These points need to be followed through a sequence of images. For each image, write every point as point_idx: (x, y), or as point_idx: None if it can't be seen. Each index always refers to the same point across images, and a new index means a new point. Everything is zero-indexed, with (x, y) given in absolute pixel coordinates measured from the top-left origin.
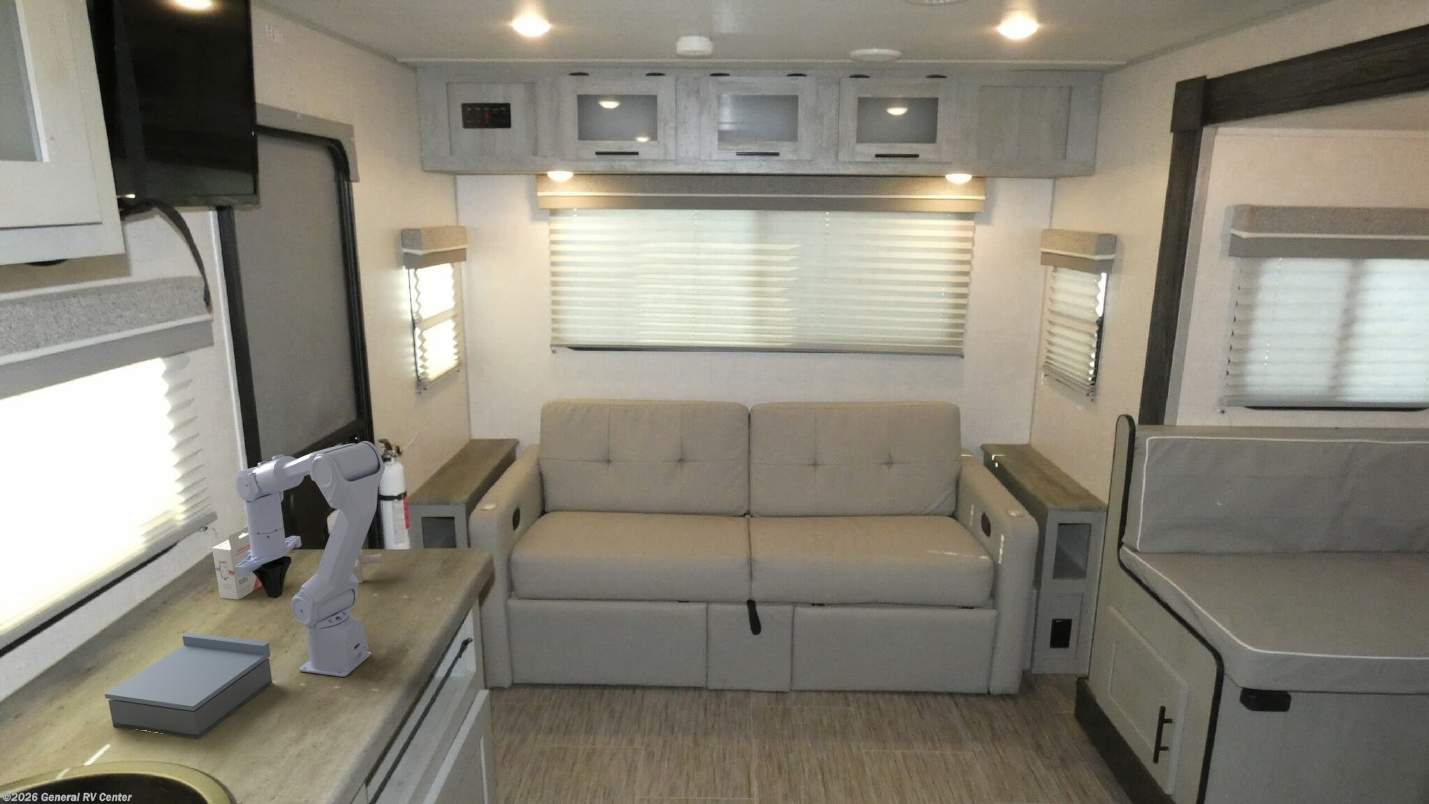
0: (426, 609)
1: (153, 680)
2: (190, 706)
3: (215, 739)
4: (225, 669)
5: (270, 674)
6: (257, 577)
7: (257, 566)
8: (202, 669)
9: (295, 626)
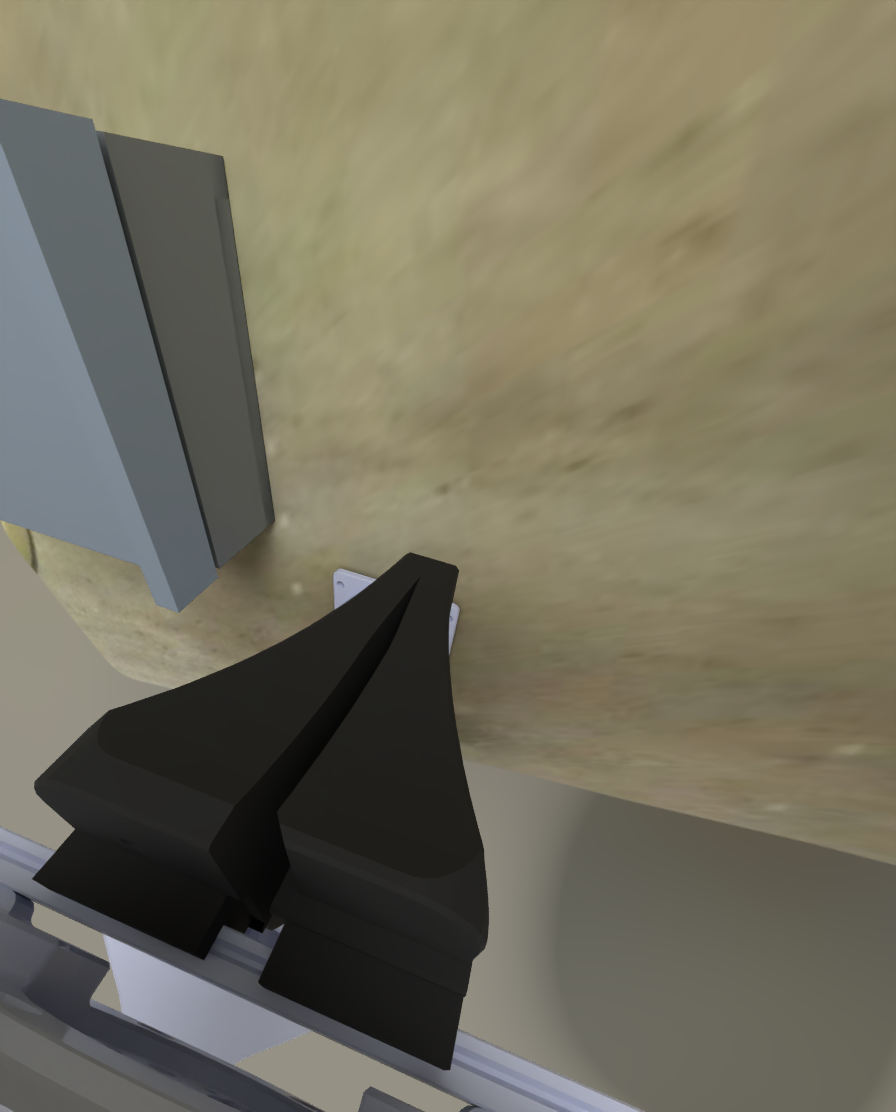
0: (698, 781)
1: None
2: None
3: None
4: (69, 498)
5: (254, 535)
6: (260, 653)
7: (16, 879)
8: (15, 414)
9: (668, 437)
